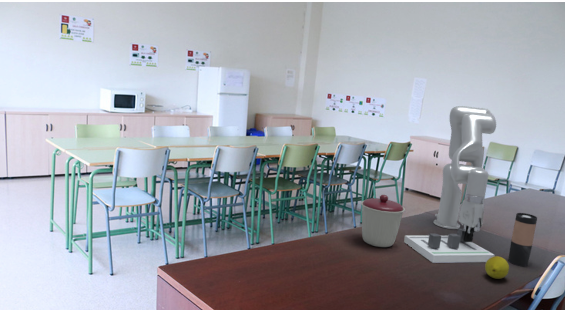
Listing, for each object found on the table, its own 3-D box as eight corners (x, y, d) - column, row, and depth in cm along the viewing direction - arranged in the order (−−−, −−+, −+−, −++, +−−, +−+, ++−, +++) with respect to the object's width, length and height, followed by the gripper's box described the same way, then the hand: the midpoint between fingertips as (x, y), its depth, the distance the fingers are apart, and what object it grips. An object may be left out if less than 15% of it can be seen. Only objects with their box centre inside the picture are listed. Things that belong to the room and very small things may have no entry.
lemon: (489, 270, 172) (493, 250, 171) (511, 278, 167) (515, 258, 166) (477, 277, 165) (481, 256, 164) (499, 285, 160) (503, 264, 158)
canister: (367, 232, 204) (373, 187, 200) (405, 243, 194) (412, 196, 190) (348, 242, 189) (355, 193, 186) (389, 254, 179) (396, 203, 176)
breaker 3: (455, 239, 195) (457, 228, 194) (462, 239, 196) (464, 228, 195) (460, 242, 192) (462, 230, 191) (467, 242, 193) (469, 231, 192)
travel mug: (526, 261, 187) (535, 214, 183) (530, 268, 179) (539, 219, 176) (506, 257, 189) (514, 211, 186) (508, 263, 182) (517, 216, 178)
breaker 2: (446, 245, 187) (448, 233, 186) (454, 245, 187) (456, 233, 187) (451, 248, 184) (453, 236, 183) (458, 248, 185) (460, 236, 184)
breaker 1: (427, 245, 184) (429, 233, 183) (435, 245, 185) (437, 233, 184) (431, 248, 181) (433, 236, 181) (439, 248, 182) (441, 236, 181)
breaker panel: (403, 242, 196) (404, 235, 195) (459, 242, 203) (460, 235, 203) (432, 262, 175) (433, 255, 174) (493, 261, 182) (494, 254, 182)
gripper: (455, 194, 194) (449, 235, 196) (478, 203, 179) (471, 247, 182) (470, 195, 196) (463, 235, 198) (494, 203, 181) (487, 247, 184)
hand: (467, 241), depth 190 cm, fingers closed
